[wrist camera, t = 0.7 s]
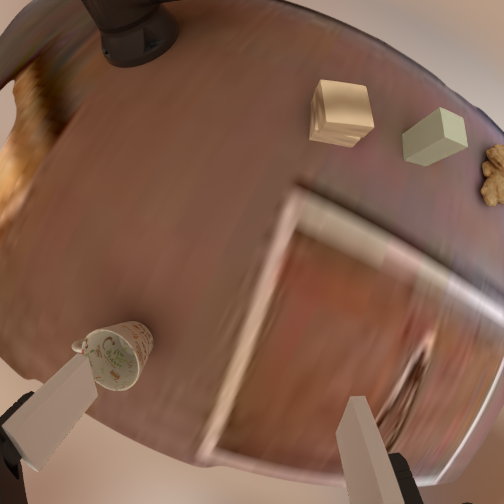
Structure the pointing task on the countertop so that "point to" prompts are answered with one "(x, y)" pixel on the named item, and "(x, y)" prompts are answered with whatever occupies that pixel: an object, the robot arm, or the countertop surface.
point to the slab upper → (343, 109)
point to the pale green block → (434, 138)
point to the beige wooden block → (328, 138)
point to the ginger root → (494, 176)
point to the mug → (117, 353)
